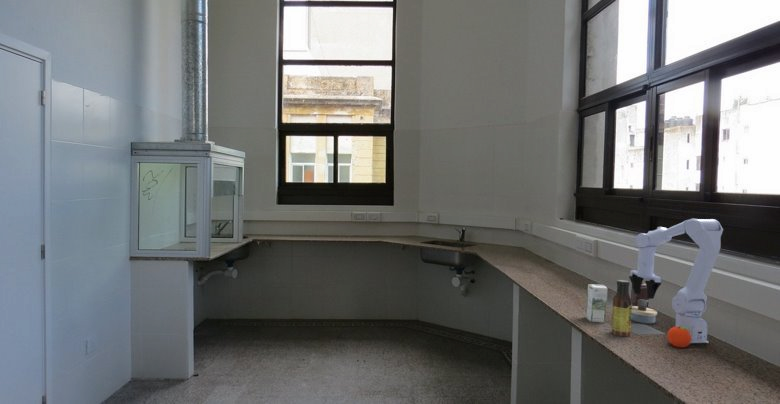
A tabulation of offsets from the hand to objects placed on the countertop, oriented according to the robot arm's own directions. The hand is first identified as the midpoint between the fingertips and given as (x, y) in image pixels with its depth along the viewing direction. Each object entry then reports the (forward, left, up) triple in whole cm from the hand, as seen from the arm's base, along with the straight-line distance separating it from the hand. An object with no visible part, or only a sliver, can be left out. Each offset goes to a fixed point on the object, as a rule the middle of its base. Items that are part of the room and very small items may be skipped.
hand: (643, 296), depth 180 cm
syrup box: (+1, +21, -10) cm, 23 cm away
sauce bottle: (-15, +21, -10) cm, 28 cm away
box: (+14, -9, -10) cm, 20 cm away
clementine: (-28, +9, -10) cm, 32 cm away
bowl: (0, 0, -10) cm, 10 cm away
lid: (0, 0, -7) cm, 7 cm away
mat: (-11, +10, -10) cm, 18 cm away
